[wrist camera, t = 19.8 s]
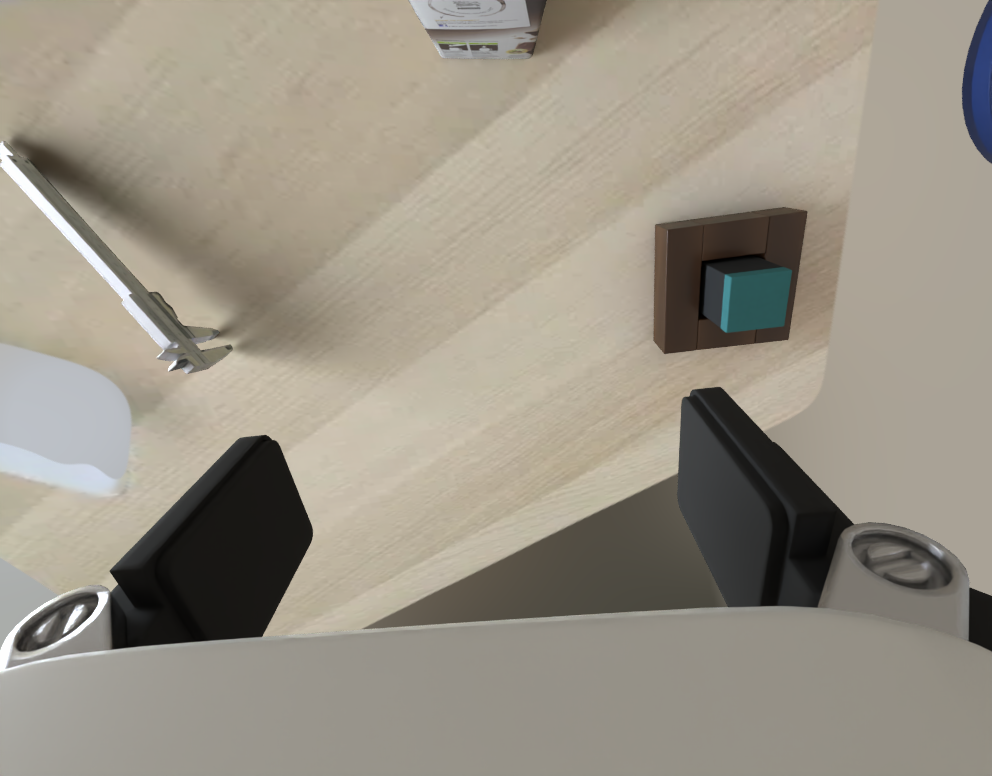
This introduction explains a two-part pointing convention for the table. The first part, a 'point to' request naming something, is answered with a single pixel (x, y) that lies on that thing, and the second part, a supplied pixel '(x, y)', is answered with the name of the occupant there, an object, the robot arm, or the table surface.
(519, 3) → the coffee box
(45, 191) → the caliper
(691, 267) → the mount block
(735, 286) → the block
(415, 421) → the table surface
